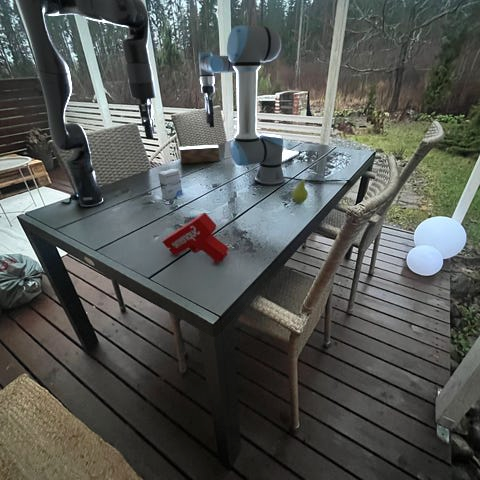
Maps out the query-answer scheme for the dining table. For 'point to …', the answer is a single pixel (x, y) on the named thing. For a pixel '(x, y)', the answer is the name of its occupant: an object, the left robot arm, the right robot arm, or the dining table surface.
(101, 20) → the left robot arm
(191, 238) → the toy gun
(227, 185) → the dining table surface
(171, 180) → the ink box
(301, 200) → the fruit
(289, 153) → the white printed flat box
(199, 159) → the bar
